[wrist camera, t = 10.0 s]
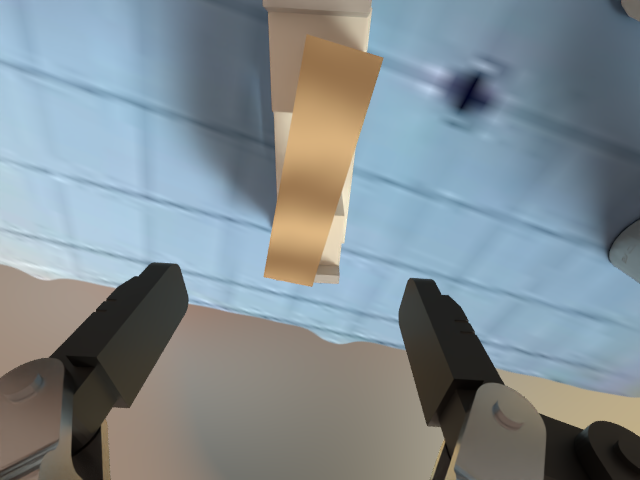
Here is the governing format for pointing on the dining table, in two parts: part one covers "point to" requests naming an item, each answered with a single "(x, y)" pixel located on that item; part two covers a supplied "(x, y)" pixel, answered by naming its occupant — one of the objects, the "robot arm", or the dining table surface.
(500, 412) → the robot arm
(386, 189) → the dining table surface
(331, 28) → the display stand
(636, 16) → the can
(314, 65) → the bar
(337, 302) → the dining table surface
